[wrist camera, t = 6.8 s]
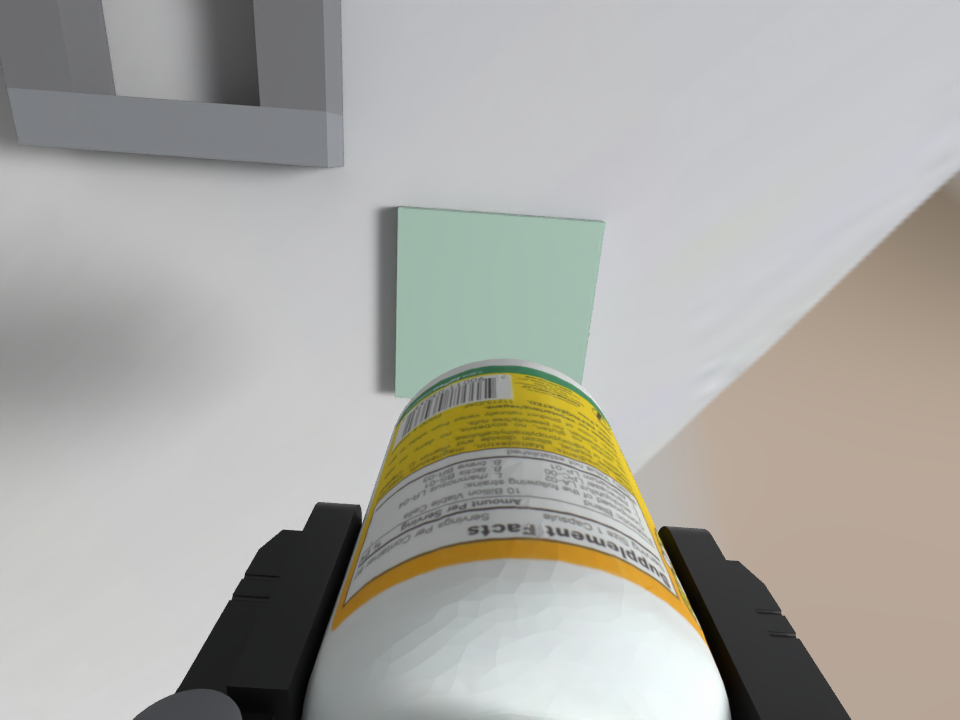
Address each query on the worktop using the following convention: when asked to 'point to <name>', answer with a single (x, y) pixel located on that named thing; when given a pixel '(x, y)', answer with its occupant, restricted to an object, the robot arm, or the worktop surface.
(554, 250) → the pad
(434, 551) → the supplement bottle
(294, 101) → the case
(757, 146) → the worktop surface
